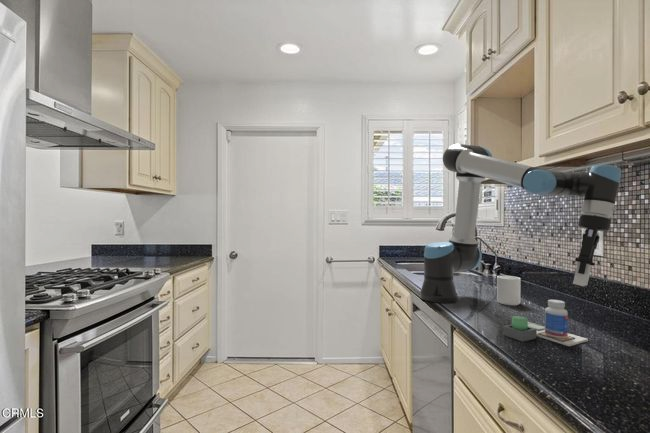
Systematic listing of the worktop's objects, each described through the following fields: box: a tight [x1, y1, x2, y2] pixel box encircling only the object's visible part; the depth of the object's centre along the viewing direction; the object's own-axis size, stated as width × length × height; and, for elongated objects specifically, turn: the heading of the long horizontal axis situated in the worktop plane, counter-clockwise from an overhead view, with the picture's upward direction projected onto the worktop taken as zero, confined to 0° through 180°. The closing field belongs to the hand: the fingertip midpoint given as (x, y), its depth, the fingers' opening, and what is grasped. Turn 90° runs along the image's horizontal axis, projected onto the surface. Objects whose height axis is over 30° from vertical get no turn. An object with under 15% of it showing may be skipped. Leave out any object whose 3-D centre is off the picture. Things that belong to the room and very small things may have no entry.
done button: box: [511, 315, 529, 331], centre depth 99 cm, size 4×4×4 cm
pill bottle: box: [544, 299, 569, 338], centre depth 97 cm, size 6×5×10 cm
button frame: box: [502, 323, 537, 342], centre depth 99 cm, size 6×6×3 cm
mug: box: [496, 275, 522, 306], centre depth 139 cm, size 12×8×10 cm
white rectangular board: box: [528, 321, 589, 347], centre depth 101 cm, size 17×9×1 cm, turn 26°
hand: (580, 284), depth 104 cm, fingers open, 13 cm apart
